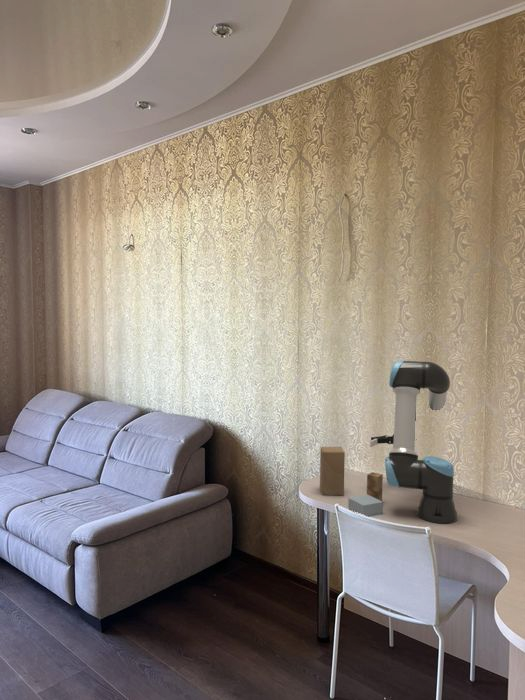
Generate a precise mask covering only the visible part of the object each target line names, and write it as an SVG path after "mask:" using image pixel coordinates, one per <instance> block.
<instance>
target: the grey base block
mask: <svg viewBox="0 0 525 700" xmlns="http://www.w3.org/2000/svg"><path fill="white" fill-rule="evenodd" d="M347 501H348V503H347V504H348V505H347V509H348V508H349V509H350V510H349V509H348V510H349V511H351V510H353V511H355V512H358V513H361V514H364V515H369V516H370V517H371V516H376V515H380V514H383V512H384V501H383V500H382V501H380V500H378V499H376V498H374V497H372V496H370V495H367V494H362V495H357V496H351V497H348V498H347ZM353 511H352V512H353ZM355 512H354V513H355ZM369 516H368V517H369Z"/></svg>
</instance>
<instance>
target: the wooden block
mask: <svg viewBox="0 0 525 700" xmlns="http://www.w3.org/2000/svg"><path fill="white" fill-rule="evenodd" d="M319 452H320V456H319V457H320V460H319V466H320V467H319V468H320V469H319V489H320V492H321V495H322V494H323V495H322V496H344V493H345V459H346V458H345V457H346V455H345V453H346V452H345V450H344V449H343V447H342V446H321V447H320V451H319Z"/></svg>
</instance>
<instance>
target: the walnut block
mask: <svg viewBox="0 0 525 700" xmlns="http://www.w3.org/2000/svg"><path fill="white" fill-rule="evenodd" d="M383 475H384V474H383V473H378V472H373V471H372V472H370V473H368V474H367V475H366V495H370V496H372V497H374V498H376V499H378V500H380V501H382V502H383V484H384V483H383V479H384V478H383Z"/></svg>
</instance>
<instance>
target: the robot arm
mask: <svg viewBox="0 0 525 700" xmlns="http://www.w3.org/2000/svg"><path fill="white" fill-rule="evenodd" d="M390 370H391V371H390V374H389V387H390V388H392V392H393V393H394V395H395V406H394V408H395V409H394V424H393V426H394V428H393V434H392V435H390V436H388V435H387V434H385V435H380V436H379V435H378V436H372V437H370V440H369V447H370V448H373V447H374V446H377V445H378V444H379V445H380V444H387V445H393V447H392V450H390V451H389V453H388V456H385V457H384V460H385V461H384V463H385V464H384V466H385V476H386V481H387V484H388V486H391V487H395V488H406V489H413V490H414V489H415V490H422V496H421V499H420V501H419V504H418V506H417V512H416V513H417V516H418V517H419V518H421V519H423V520H424V521H428V522H429V523H430V522H432V523H436V524H437V523H438V524H448V523H447V522H452V523H454V522H453V521H455V520H456V519H457V520H458V512H457V510H456V506H455V501H454V477H455V474H454V473H455V472H454V465H453V464H452V463H451V462H450V461H448V460H446V459H445V458H440V457H437V456H432V455H431V456H424V457H423V458H422V459H419V455H418V454H417V452H416V451H415V444H416V442H415V441H416V440H415V421H416V404H417V396H418V395H420V393H421V389H428V407H429V406H430V408H431V409H432V410H436V411H437V410H440V409H441V408H443V406H444V405H445V402H446V403H447V394H448V391H449V390H450V387H451V380H450V377H449V374H448V373H447V371H446V370H445V369H444V368H443V367H441V366H440V365H439V364H437V363H435V362H432V361H418V360H417V361H416V360H414V361H413V360H396V361H394V362H393V363H392V365H391V369H390ZM457 520H456V521H457ZM456 521H455V522H456Z"/></svg>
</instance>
